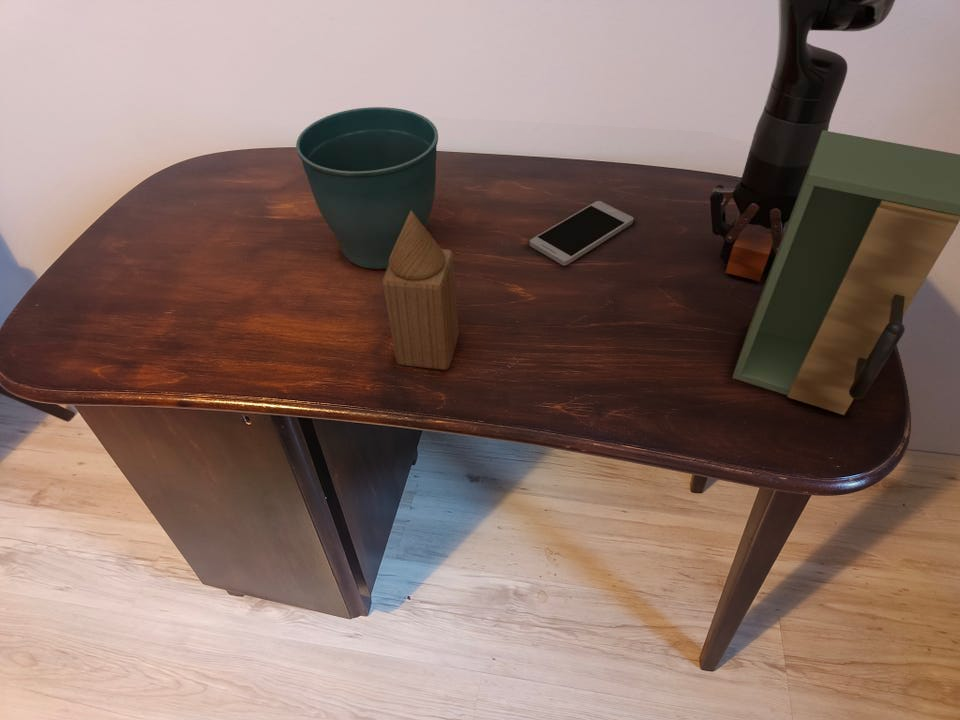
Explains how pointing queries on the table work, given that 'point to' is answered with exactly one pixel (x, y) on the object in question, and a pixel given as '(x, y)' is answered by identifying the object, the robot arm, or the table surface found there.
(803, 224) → the box
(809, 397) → the door
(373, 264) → the flower pot
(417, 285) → the decorative item
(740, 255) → the block
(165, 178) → the table surface
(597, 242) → the smartphone
